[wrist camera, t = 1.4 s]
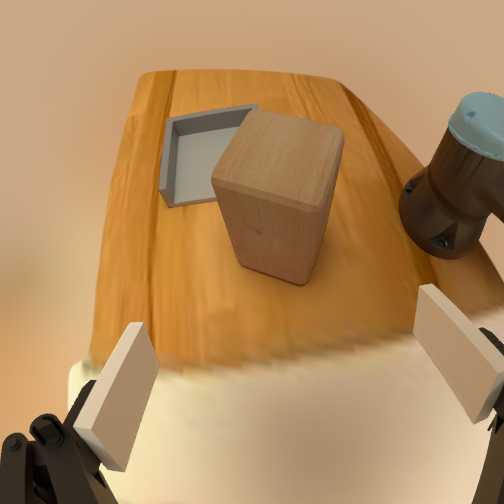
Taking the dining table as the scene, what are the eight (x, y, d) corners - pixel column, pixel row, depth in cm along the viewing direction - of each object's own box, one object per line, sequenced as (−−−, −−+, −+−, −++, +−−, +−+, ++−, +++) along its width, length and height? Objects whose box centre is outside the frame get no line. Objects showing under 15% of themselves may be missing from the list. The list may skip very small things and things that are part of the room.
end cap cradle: (260, 123, 55) (257, 103, 50) (271, 193, 48) (269, 173, 43) (174, 137, 56) (167, 118, 51) (168, 207, 49) (158, 190, 44)
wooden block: (236, 265, 44) (204, 176, 25) (262, 207, 47) (249, 103, 29) (305, 289, 41) (321, 209, 23) (326, 227, 45) (347, 125, 27)
